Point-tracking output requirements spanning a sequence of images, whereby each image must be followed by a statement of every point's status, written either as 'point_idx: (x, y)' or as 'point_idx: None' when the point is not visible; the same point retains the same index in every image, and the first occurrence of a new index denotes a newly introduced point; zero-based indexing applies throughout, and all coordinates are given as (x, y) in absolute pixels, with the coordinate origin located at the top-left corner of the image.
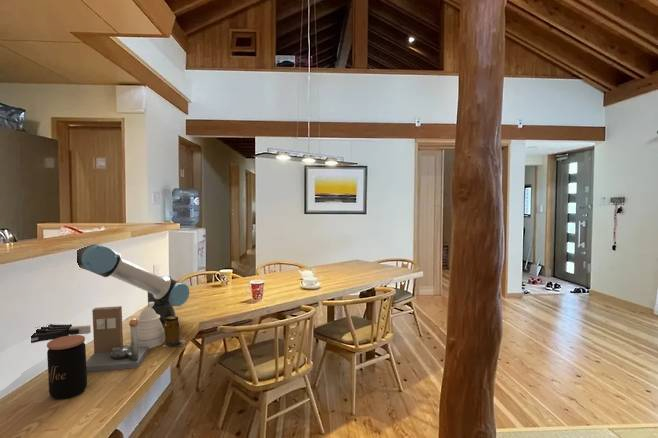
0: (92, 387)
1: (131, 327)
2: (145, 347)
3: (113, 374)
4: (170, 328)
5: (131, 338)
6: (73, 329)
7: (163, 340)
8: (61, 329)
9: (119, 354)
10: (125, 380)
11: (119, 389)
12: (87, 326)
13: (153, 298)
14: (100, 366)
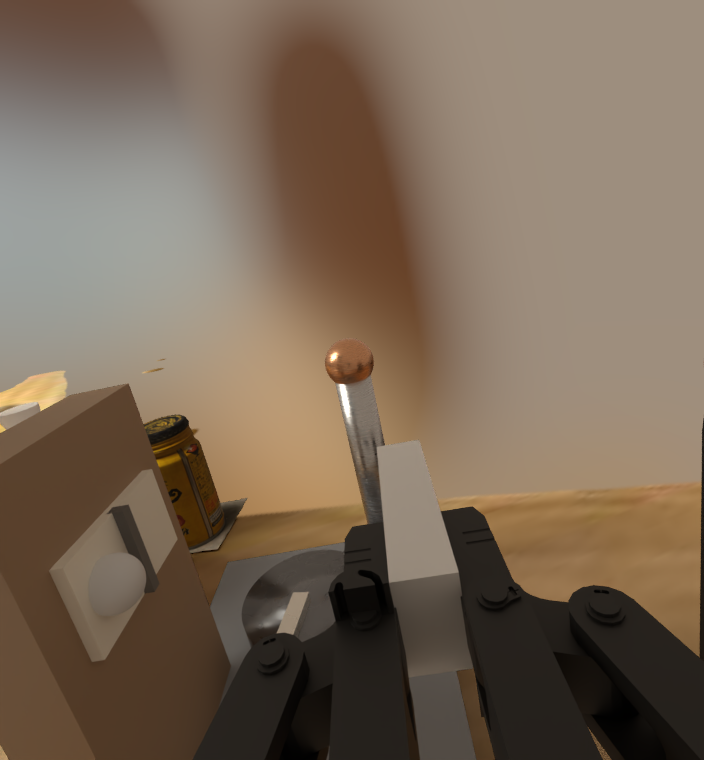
0: (698, 647)
1: (369, 382)
2: (240, 567)
3: None
4: (201, 456)
5: (380, 444)
6: (455, 551)
7: None
8: (523, 678)
9: None
10: (564, 543)
11: (653, 529)
12: (415, 446)
13: None
14: (460, 690)
